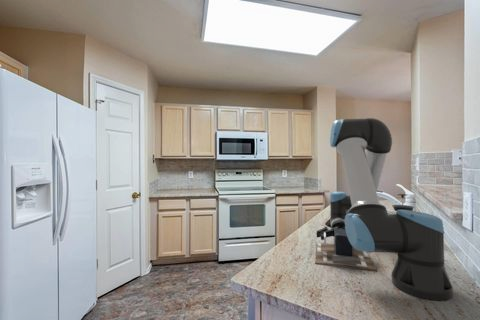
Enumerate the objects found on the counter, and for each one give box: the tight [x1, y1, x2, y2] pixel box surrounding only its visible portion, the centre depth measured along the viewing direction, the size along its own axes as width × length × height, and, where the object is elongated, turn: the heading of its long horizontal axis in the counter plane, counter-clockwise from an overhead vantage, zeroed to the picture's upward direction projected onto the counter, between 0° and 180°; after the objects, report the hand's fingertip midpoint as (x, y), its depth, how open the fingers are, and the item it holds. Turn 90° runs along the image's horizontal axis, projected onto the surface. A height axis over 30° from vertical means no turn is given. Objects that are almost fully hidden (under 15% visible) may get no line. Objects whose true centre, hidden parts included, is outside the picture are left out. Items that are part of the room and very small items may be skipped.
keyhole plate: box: [314, 242, 377, 272], centre depth 100 cm, size 24×21×4 cm
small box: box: [333, 228, 352, 256], centre depth 96 cm, size 11×6×10 cm, turn 161°
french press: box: [392, 193, 415, 215], centre depth 118 cm, size 12×9×23 cm
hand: (343, 242), depth 91 cm, fingers open, 13 cm apart
